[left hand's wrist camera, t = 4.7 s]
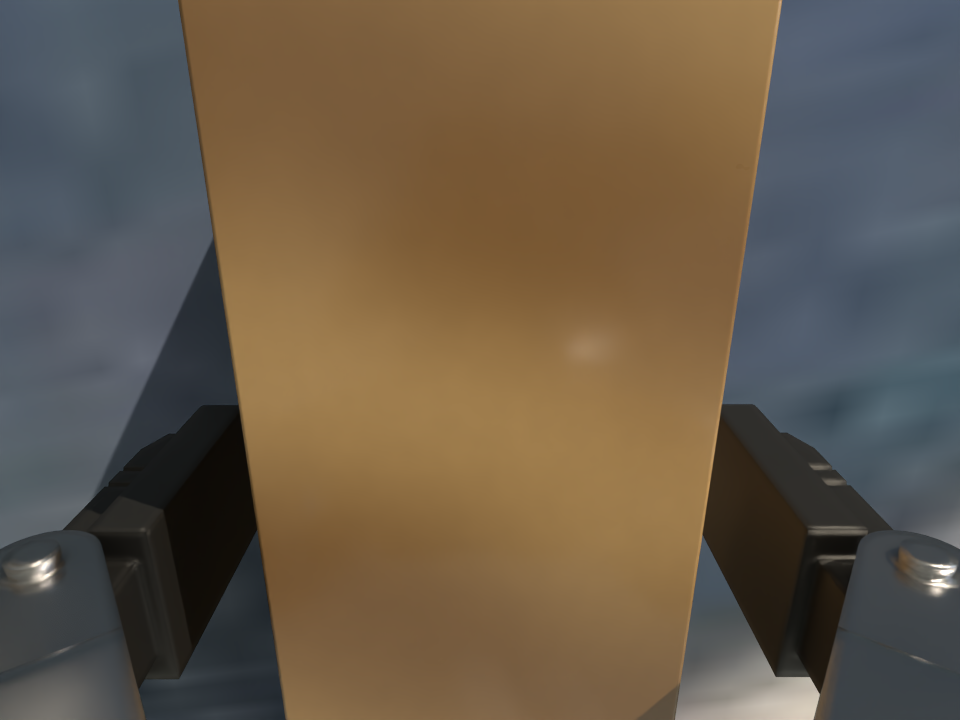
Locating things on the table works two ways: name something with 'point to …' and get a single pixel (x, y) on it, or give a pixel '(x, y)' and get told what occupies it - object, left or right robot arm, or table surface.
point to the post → (480, 334)
